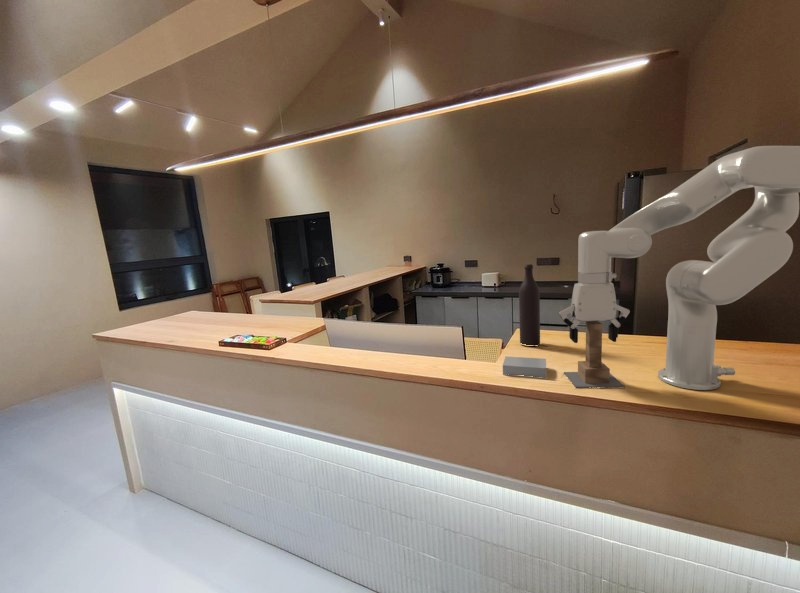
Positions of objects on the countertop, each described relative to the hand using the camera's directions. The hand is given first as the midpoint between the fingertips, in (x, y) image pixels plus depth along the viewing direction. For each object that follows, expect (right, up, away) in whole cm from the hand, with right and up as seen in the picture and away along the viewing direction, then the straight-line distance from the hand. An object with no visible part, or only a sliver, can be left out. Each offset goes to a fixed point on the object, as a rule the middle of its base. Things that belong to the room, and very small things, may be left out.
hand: (593, 340), depth 93 cm
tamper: (+1, -11, +2) cm, 11 cm away
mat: (+1, -11, +2) cm, 11 cm away
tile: (-9, -9, +9) cm, 16 cm away
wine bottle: (-4, -6, +36) cm, 36 cm away
